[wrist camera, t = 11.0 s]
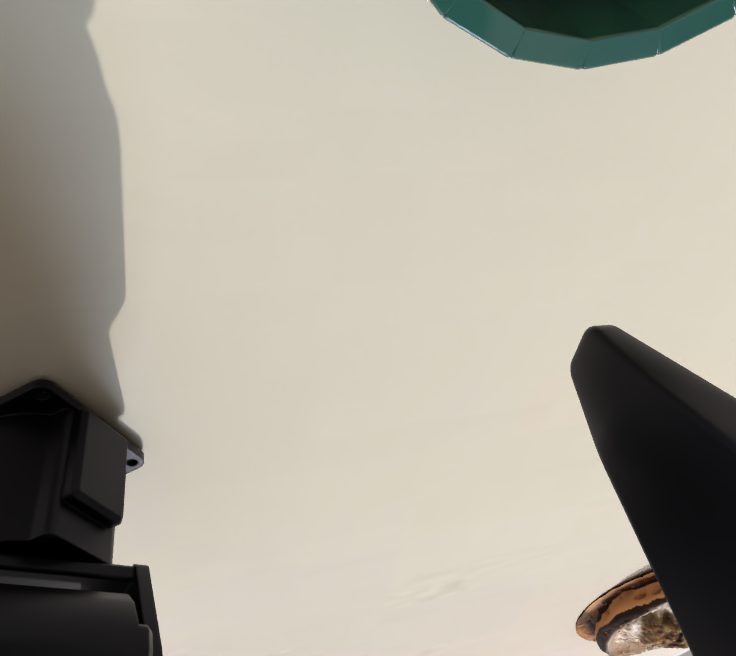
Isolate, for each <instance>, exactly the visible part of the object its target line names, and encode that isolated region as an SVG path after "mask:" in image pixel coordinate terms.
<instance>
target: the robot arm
mask: <svg viewBox="0 0 736 656" xmlns="http://www.w3.org/2000/svg"><path fill="white" fill-rule="evenodd" d="M571 377H572V380H573V383H574V386H575V389H576V391H577V394H578V397H579V400H580V403H581V406H582V409H583V412H584V415H585V417H586V420H587V423H588V426H589V429H590V432H591V435H592V438H593V440H594V443H595V446H596V449H597V451H598V454H599V456H600V459H601V461H602V463H603V465H604V468H605V470H606V472H607V474H608V476H609V478H610V481H611V483H612V485H613V487H614V489H615V491H616V493H617V495H618V498H619V500H620V502H621V504H622V506H623V508H624V510H625V512H626V515H627V517H628V519H629V521H630V523H631V525H632V527H633V529H634V532H635V534H636V536H637V538H638V540H639V542H640V544H641V546H642V549H643V551H644V553H645V555H646V557H647V559H648V561H649V563H650V566H651V568H652V570H653V572H654V574H655V576H656V578H657V580H658V583H659V585H660V587H661V589H662V591H663V593H664V595H665V597H666V600H667V602H668V604H669V606H670V608H671V610H672V612H673V614H674V617H675V619H676V621H677V623H678V625H679V627H680V629H681V631H682V634H683V636H684V638H685V640H686V642H687V644H688V646H689V648H690V651H691V653H692V655H693V656H736V398H734V397H733V396H731V395H729V394H728V393H726V392H724V391H723V390H721V389H719V388H718V387H716V386H714V385H713V384H711V383H709V382H708V381H706V380H704V379H703V378H701V377H699V376H698V375H696V374H694V373H693V372H691V371H689V370H688V369H686V368H684V367H683V366H681V365H679V364H678V363H676V362H674V361H673V360H671V359H669V358H668V357H666V356H664V355H663V354H661V353H659V352H658V351H656V350H654V349H653V348H651V347H649V346H648V345H646V344H644V343H643V342H641V341H639V340H638V339H636V338H634V337H633V336H631V335H629V334H628V333H626V332H624V331H623V330H621V329H619V328H618V327H616V326H613V325H602V326H592V327H589V328H588V329H587V330H586V331H585V333H584V334H583V337H582V339H581V341H580V343H579V346H578V348H577V350H576V352H575V355H574V357H573V359H572V362H571ZM39 391H44V392H45V393H43V392H39ZM143 463H144V453H143V452H142V451H141V450H140V449H138V448H137V447H136V446H135V445H133V444H132V443H131V442H129V441H128V440H127V439H126V438H124V437H123V436H122V435H121V434H119V433H118V432H117V431H115V430H114V429H113V428H112V427H110V426H109V425H108V424H106V423H105V422H104V421H103V420H101V419H100V418H99V417H97V416H96V415H95V414H94V413H92V412H91V411H89V410H88V409H87V408H86V407H84V406H83V405H82V404H80V403H79V402H78V401H77V400H75V399H74V398H73V397H71V396H70V395H69V394H68V393H66V392H65V391H64V390H62V389H61V388H60V387H58V386H57V385H56V384H55V383H53V382H51V381H49V380H45V379H39V380H35V381H33V382H31V383H29V384H27V385H25V386H23V387H21V388H19V389H17V390H15V391H13V392H11V393H9V394H7V395H5V396H3V397H1V398H0V656H163V655H162V646H161V639H160V633H159V627H158V621H157V615H156V609H155V602H154V596H153V590H152V584H151V578H150V572H149V567H148V566H147V565H138V564H134V565H133V566H124V565H115V564H112V558H113V545H114V531H115V526H117V525H119V524H121V522H122V518H123V509H124V493H125V478H126V474H127V473H129V472H131V471H133V470H136V469H138V468H140V467H141V466H142V465H143Z"/></svg>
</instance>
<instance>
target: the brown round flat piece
mask: <svg viewBox="0 0 736 656" xmlns="http://www.w3.org/2000/svg"><path fill="white" fill-rule="evenodd" d="M576 631H577V633H578V635H579V636H580V637H582V638H584V639H586V640H589V641H590V640H591V641H595V642H596V641H597V644H598V646H599V647H600V649H601V650H602V651H603V652H605V653H607V654H608V655H609V656H630V655H636V654H639V653H640V654H641V653H642V652H645V651H646V649H647V650H648V651H649V649H650V650H653V649H659V648H688V647H689V646H688V644H687V642H686V640H685V638H684V636H683V634H682V631H681V629H680V627H679V625H678V623H677V621H676V619H675V617H674V614H673V612H672V610H671V608H670V606H669V604H668V602H667V600H666V597H665V595H664V593H663V591H662V589H661V587H660V585H659V583H658V580H657V578H656V576H655V574H654V572H653V573H650V574H646V575H644V576H643V577H641V578H638V579H635V580H634V581H631V582H629V583H625V584H624V585H621V586H620V587H619V588H616V589H613V590H611V591H610V592H608V593H607V594H606V595H604V596H603V597H601V598H599V599H598V600H596V601H595V602H594V603H592V604H591V605H590V606H589V607H588V608H587V609H586V610H585V612H584V613H583V614H582V616H581V617H580V618H579V620H578V621H577V626H576ZM659 646H660V647H659Z"/></svg>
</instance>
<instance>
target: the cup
mask: <svg viewBox="0 0 736 656" xmlns="http://www.w3.org/2000/svg"><path fill="white" fill-rule="evenodd" d="M427 1H428V3H429V4H430V5H431V6H432V7H433V8H434V9H435V10H436V11H437V12H438V13H439V14H440V15H441V16H442V17H443V18H444V19H446V20H447V21H449V22H451V23H452V24H454V25H456V26H457V27H459V28H460V29H462V30H464V31H465V32H467V33H468V34H470V35H472V36H473V37H475V38H477V39H478V40H480V41H481V42H483V43H485V44H486V45H488V46H490V47H491V48H493V49H494V50H496V51H498V52H499V53H501V54H502V55H504V56H506V57H510V58H512V59H517V60H523V61H529V62H535V63H541V64H547V65H553V66H559V67H565V68H571V69H589V68H595V67H600V66H605V65H611V64H616V63H622V62H627V61H632V60H638V59H643V58H648V57H654V56H656V55H657V54H658V55H659V54H662V53H664V52H666V51H668V50H670V49H672V48H674V47H676V46H678V45H680V44H682V43H684V42H686V41H688V40H690V39H692V38H694V37H696V36H698V35H700V34H702V33H704V32H706V31H708V30H710V29H712V28H714V27H716V26H718V25H720V24H722V23H724V22H726V21H728V20H730V19H732V18H733V17H734V15H736V0H427Z"/></svg>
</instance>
